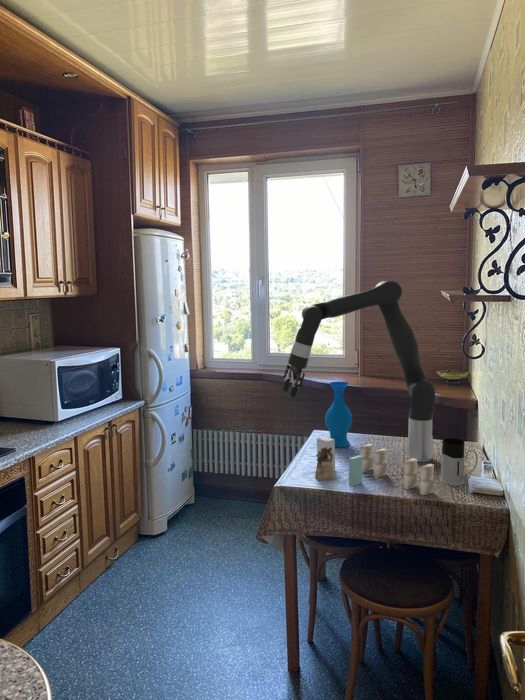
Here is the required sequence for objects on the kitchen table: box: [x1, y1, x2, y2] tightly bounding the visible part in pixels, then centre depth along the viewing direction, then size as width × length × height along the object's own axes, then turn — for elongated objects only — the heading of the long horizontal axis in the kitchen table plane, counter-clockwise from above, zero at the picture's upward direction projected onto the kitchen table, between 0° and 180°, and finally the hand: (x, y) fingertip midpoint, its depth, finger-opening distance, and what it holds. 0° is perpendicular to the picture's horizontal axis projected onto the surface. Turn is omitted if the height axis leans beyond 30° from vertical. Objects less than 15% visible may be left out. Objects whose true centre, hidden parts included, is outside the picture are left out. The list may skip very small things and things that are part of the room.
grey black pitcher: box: [439, 437, 479, 487], centre depth 190 cm, size 9×14×15 cm, turn 35°
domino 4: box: [403, 458, 418, 490], centre depth 187 cm, size 5×2×10 cm, turn 126°
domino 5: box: [419, 463, 435, 496], centre depth 181 cm, size 5×2×10 cm, turn 126°
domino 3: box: [373, 448, 388, 479], centre depth 198 cm, size 5×2×10 cm, turn 126°
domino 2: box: [359, 443, 374, 473], centre depth 204 cm, size 5×2×10 cm, turn 126°
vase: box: [324, 381, 353, 448], centre depth 235 cm, size 12×13×28 cm
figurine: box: [314, 446, 335, 482], centre depth 196 cm, size 7×7×12 cm
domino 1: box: [348, 454, 363, 487], centre depth 190 cm, size 5×2×10 cm, turn 126°
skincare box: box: [316, 436, 336, 470], centre depth 206 cm, size 6×4×12 cm
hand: (288, 393), depth 210 cm, fingers open, 8 cm apart
